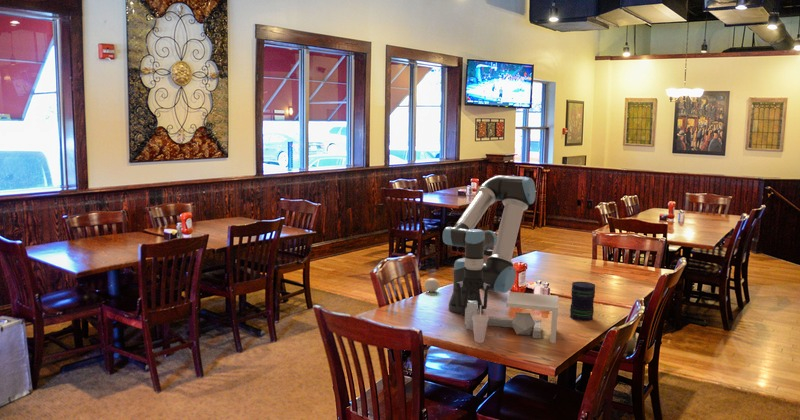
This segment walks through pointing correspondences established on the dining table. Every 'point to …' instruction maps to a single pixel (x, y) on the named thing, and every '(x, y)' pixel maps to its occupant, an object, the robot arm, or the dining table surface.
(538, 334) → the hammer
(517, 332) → the die
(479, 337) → the smoothie
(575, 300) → the storage jar
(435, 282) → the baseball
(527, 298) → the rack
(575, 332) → the dining table surface
